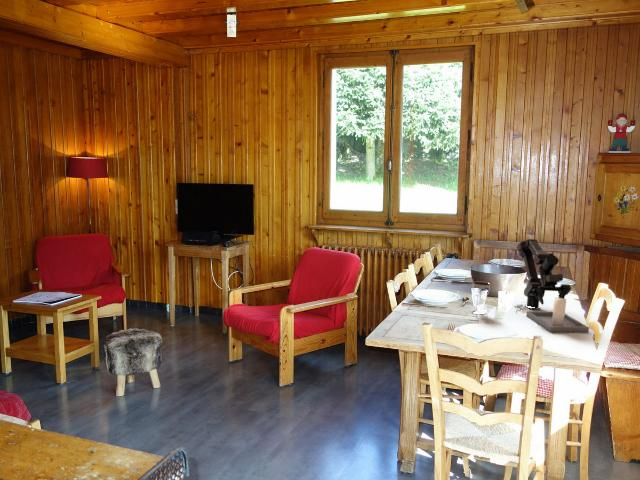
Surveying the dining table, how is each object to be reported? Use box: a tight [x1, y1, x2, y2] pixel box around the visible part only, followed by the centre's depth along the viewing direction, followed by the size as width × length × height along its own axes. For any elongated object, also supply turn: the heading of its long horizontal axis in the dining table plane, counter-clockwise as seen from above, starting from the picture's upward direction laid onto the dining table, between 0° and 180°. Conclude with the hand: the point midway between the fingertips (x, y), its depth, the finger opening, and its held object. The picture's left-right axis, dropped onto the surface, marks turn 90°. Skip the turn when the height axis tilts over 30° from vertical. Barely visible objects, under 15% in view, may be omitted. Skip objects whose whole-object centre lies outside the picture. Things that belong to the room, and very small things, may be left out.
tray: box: [525, 310, 590, 334], centre depth 267 cm, size 24×18×2 cm
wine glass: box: [471, 280, 491, 316], centre depth 280 cm, size 8×8×15 cm
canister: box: [551, 297, 567, 326], centre depth 260 cm, size 5×5×13 cm
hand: (552, 304), depth 267 cm, fingers open, 9 cm apart
